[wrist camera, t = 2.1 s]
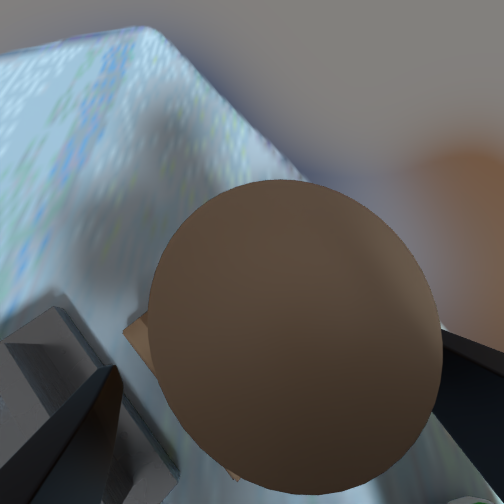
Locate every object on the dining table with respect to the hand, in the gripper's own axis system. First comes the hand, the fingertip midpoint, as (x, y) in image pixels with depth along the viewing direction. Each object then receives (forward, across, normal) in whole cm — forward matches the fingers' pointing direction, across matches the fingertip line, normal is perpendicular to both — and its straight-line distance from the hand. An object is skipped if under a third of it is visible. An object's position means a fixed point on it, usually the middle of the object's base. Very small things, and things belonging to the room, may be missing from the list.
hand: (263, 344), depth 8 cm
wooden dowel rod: (+6, 0, +5) cm, 8 cm away
